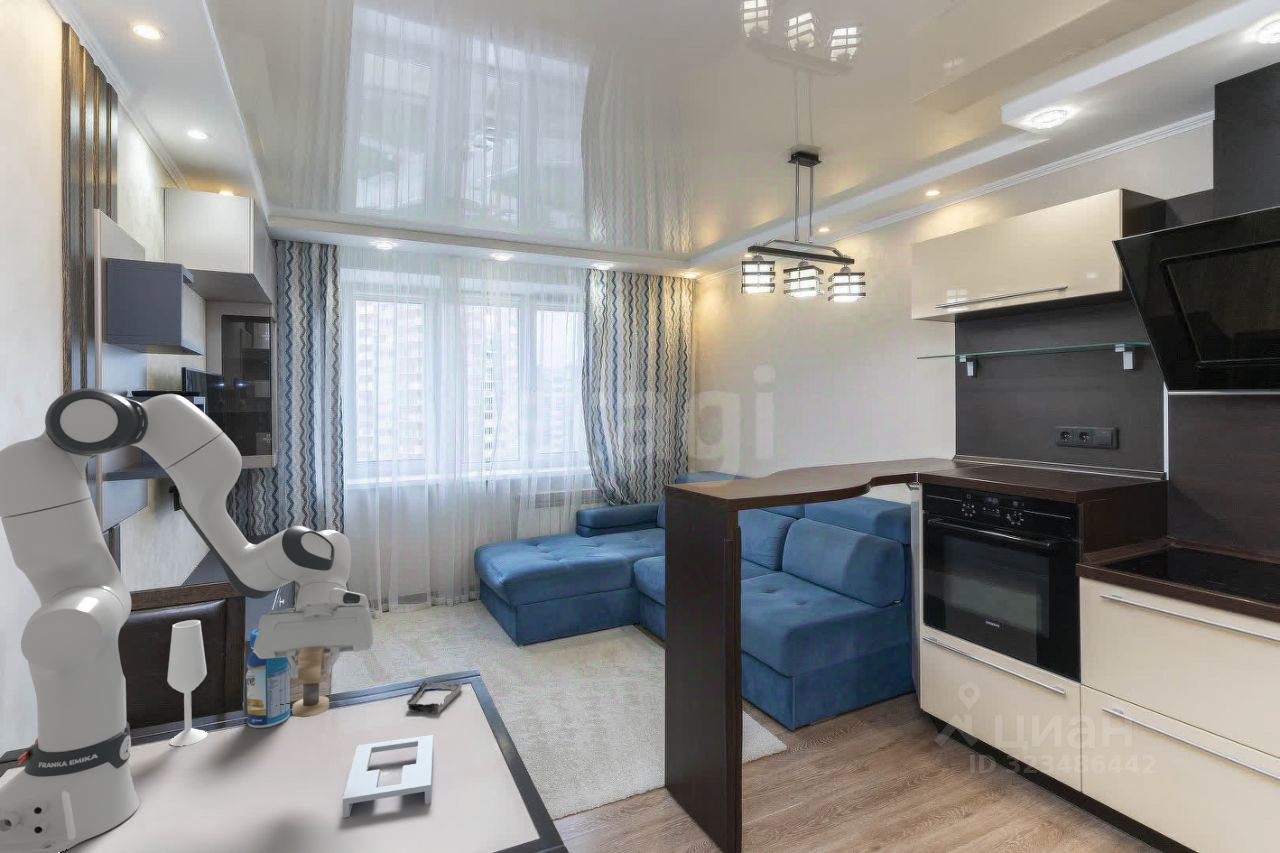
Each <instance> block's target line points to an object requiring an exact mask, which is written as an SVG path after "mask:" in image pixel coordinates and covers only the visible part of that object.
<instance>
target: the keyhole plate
mask: <svg viewBox="0 0 1280 853" xmlns="http://www.w3.org/2000/svg"><path fill="white" fill-rule="evenodd" d="M414 747H417V752H416V761H415V763H411V764H405V765H403V766H402V773H401V778H400V779H401V781H400V783H396V784H390V785H386V786H385V785H383V786H378V785H379V780H380V775H381V774H380V773H381V772H380V769H372V770H369V767H370V766H369V765H370V762H371V757H372V753H373V754H374V753H379V752H380V753H381V752H387V751H393V750H400V749H401V750H402V749H407V748H414ZM433 762H434V735H433V734H429V735H422V736H415V737H408V738H401V739H400V738H399V739H393V740H385V741H378V742H372V743H371V742H370V743H365V744H358V745H357V746H356V750H355V753H354V756H353V759H352V763H351V764H352V765H351V768H350V771H349V775H348V778H347V782H346V785H345V789H344V793H343V797H342V819H344V818H350V816H351V812H352V808H353V804H356V803H362V802H369V801H374V800H381V799H386V798H387V799H389V798H393V797H399V796H404V795H405V796H406V795H411V794H417V793H423V792H424V805H427V804H431V803H432V791H433V790H432V788H433V787H432V786H433V768H434V766H433V764H434V763H433Z"/></svg>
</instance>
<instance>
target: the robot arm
mask: <svg viewBox="0 0 1280 853" xmlns="http://www.w3.org/2000/svg"><path fill="white" fill-rule="evenodd" d="M44 423H45V424H44V425H45V429H44V431H43V432H42V433H41V435H39V436H37V437H35V438H31V439H26V440H21V441H18V442H15V443H12V444H10V445H8V446H6V447H5V448H3V449H1V450H0V521H1V524H2V526H3V529H4V533H5V536H6V539H7V542H8V546H9V549H10V552H11V556H12V559H13V562H14V564H15V566H16V568H17V569H19V570H20V571H21V572H22V573H23V574H24V575H25V576H26V578H27V579H28V581H29V583H30V585H31V586H32V587H33V589H34V591H35V592H36V595H37V596H38V598H39V602H40V605H41V606H40V607H39V608H37V610H36V611H34V613H32V615H31V616H30V617H29V619H28V620H27V622H26V624H25V627H24V629H23V630H22V632H23V633H22V635H21V640H20V649H21V652H22V655H23V657H24V658H25V659H26V661H27V664H28V668H29V673H30V676H31V677H30V678H31V680H32V683H33V687H34V692H35V695H36V696H35V697H36V698H35V699H36V702H37V703H36V706H37V738H36V739H35V741H34V743H33V744H32V745H30V746H29V747H28V748H26V749H25V752H24V753H23V754H22V755H20V756H19V757H18V758H17V761H19V762H18V763H17V766H20V765H22V764H23V763H25V767H24V768H23V769H22V770H21V771H19V772H18V773H17V774H16V775H14V776H13V777H12V778H11V779H9V780H8V781H6V783H4V784H3V785H2V786H0V853H58V852H62V851H64V852H65V850H66V849H67V850H69V849H71V848H72V847H74V846H76V845H78V844H81V843H83V842H84V841H86V840H90V839H91V838H94V837H97V836H99V835H101V834H103V833H105V832H108V831H109V830H111V829H113V828H115V827H116V826H118V825H120V824H121V823H124V822H125V821H126V820H127V819H128V818H130V817H131V816H132V815H133V814H134V813H135V812H136V811H137V810H138V808H139V806H140V803H141V800H140V797H139V796H138V793H137V790H136V788H135V784H134V780H133V777H132V772H131V767H130V766H131V765H130V757H131V748H132V739H131V730H130V722H128V721H127V687H126V686H127V684H126V683H127V682H126V677H125V675H124V673H123V668H122V664H121V663H122V662H121V658H120V651H119V634H120V631H121V628H122V627H123V626H124V624H125V623H126V621H127V620H128V619H129V616H130V614H131V610H132V597H131V593H130V591H129V588H128V587H127V586H126V584H125V581H124V578H123V576H122V574H121V571H120V570H119V568H118V565H117V564H116V562H115V560H114V558H113V556H112V554H111V553H110V550H109V548H108V546H107V544H106V540H105V538H104V535H103V531H102V528H101V524H100V521H99V517H98V514H97V511H96V508H95V505H94V501H93V498H92V494H91V492H90V488H89V485H88V480H87V476H86V467H87V463H88V462H89V460H91V459H92V458H95V457H97V456H99V455H105V454H108V453H111V452H113V451H115V450H118V449H122V448H125V447H128V446H134V447H137V448H139V449H140V450H143V451H144V452H146V453H147V454H148V455H149V456H150V457H152V459H153V460H154V461H155V462H156V463H157V464H158V465H159V466H160V467H161V468H162V469H163V470H164V471H165V472H166V473H167V475H168V476H169V477H170V478H171V479H172V481H173V483H174V484H175V486H176V489H177V490H178V491H177V492H178V494H179V497H178V499H179V500H178V501H179V505H180V507H181V510H182V512H183V514H184V515H185V517H186V519H187V520H188V522H189V523H190V525H191V526H192V527H193V529H195V531H196V533H197V534H198V536H200V538H201V539H202V540H203V542H204V543H205V545H206V546H207V547H208V549H209V550H210V552H212V554H213V556H214V557H215V558H216V559H217V561H218V563H220V565H221V567H222V568H223V570H224V573H225V574H226V575H225V576H226V577H227V579H228V582H229V583H230V585H231V586H232V588H233V589H234V590H235V591H236V592H237V593H238V594H241V595H242V596H244V597H246V598H249V599H254V600H255V599H256V600H257V599H264V598H266V597H268V596H269V595H271V594H273V593H274V592H277V590H279V589H281V588H282V587H284V586H285V585H287V584H289V583H291V582H293V581H294V582H297V583H298V584H299V590H298V595H297V600H296V605H295V607H289V608H283V609H282V608H281V609H270V610H269V611H267V612H265V613H264V614H262V615H261V616H260V618H259V622H258V626H257V629H258V628H259V631H258V634H257V637H256V640H255V643H254V649H253V650H254V651H255V654H256V655H257V656H258V657H259V658H260V659H267V658H279V657H287V659H288V664H289V665H290V679H296V678H297V679H298V664H296V661H297V660H298V654H299V653H300V651H301V650H302V648H308V647H320V646H324V655H325V654H329V655H330V657H329V658H328V660H327V661H324V663H322V668H321V674H322V675H324V676H330V675H331V673H332V668H333V666H334V664H335V663H336V662H337V661H338V659H339V658H340V656H341V655H340V653H347V652H349V653H350V652H358V651H359V652H360V651H368V650H369V649H370V648H371V647H372V646H373V645H374V628H373V620H372V615H371V612H370V604H369V600H368V598H367V595H365V594H363V593H358V592H354V591H349V590H348V587H347V582H348V580H349V577H350V574H351V567H352V549H351V544H350V541H349V539H348V537H347V536H346V535H344V534H343V533H341V532H340V531H338V530H337V531H336V530H334V529H324V530H319V531H316V530H313V529H311V528H309V527H307V526H305V525H304V526H303V525H293V526H290V527H289V528H288V527H287V528H286V529H284V530H283V529H282V531H280V532H278V533H275V534H274V535H272V536H270V537H268V538H267V539H265V540H263V541H261V542H260V543H258V544H257V543H256V544H253V543H251V542H249V541H248V540H247V539H246V537H245V536H244V534H243V532H241V529H239V527H238V526H237V524H236V523H235V521H234V520H233V519H232V517H231V516H230V514H229V513H228V511H227V508H226V507H227V506H226V501H227V497H228V495H229V493H230V492H231V490H232V489H233V488H234V486H235V484H236V483H237V481H238V479H239V477H240V475H241V472H242V466H243V459H242V455H241V453H240V451H239V449H238V447H237V446H236V445H235V443H234V442H233V441H232V440H231V439H230V437H228V435H227V434H226V433H225V432H223V430H222V429H221V428H220V427H219V426H218V424H216V422H215V421H213V420H212V419H211V417H209V416H208V415H207V414H205V413H204V412H203V410H201V409H200V408H199V407H197V406H196V405H195V404H193V403H192V402H191V401H190V400H188V399H187V398H185V397H184V396H182V395H179V394H176V393H175V394H174V393H166V394H159V395H156V396H153V397H151V398H149V399H146V400H145V401H143V402H139V401H137V400H133V399H130V398H128V397H125V396H122V395H120V394H116V393H114V392H113V391H109V390H105V389H100V388H90V387H88V388H84V387H83V388H79V389H78V388H77V389H74V390H70V391H67V392H65V393H64V394H61V395H60V396H58V397H57V398H56V399H54V401H52V403H51V404H50V406H48V408H47V411H46V414H45V419H44ZM67 850H66V851H67ZM62 853H63V852H62Z"/></svg>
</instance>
